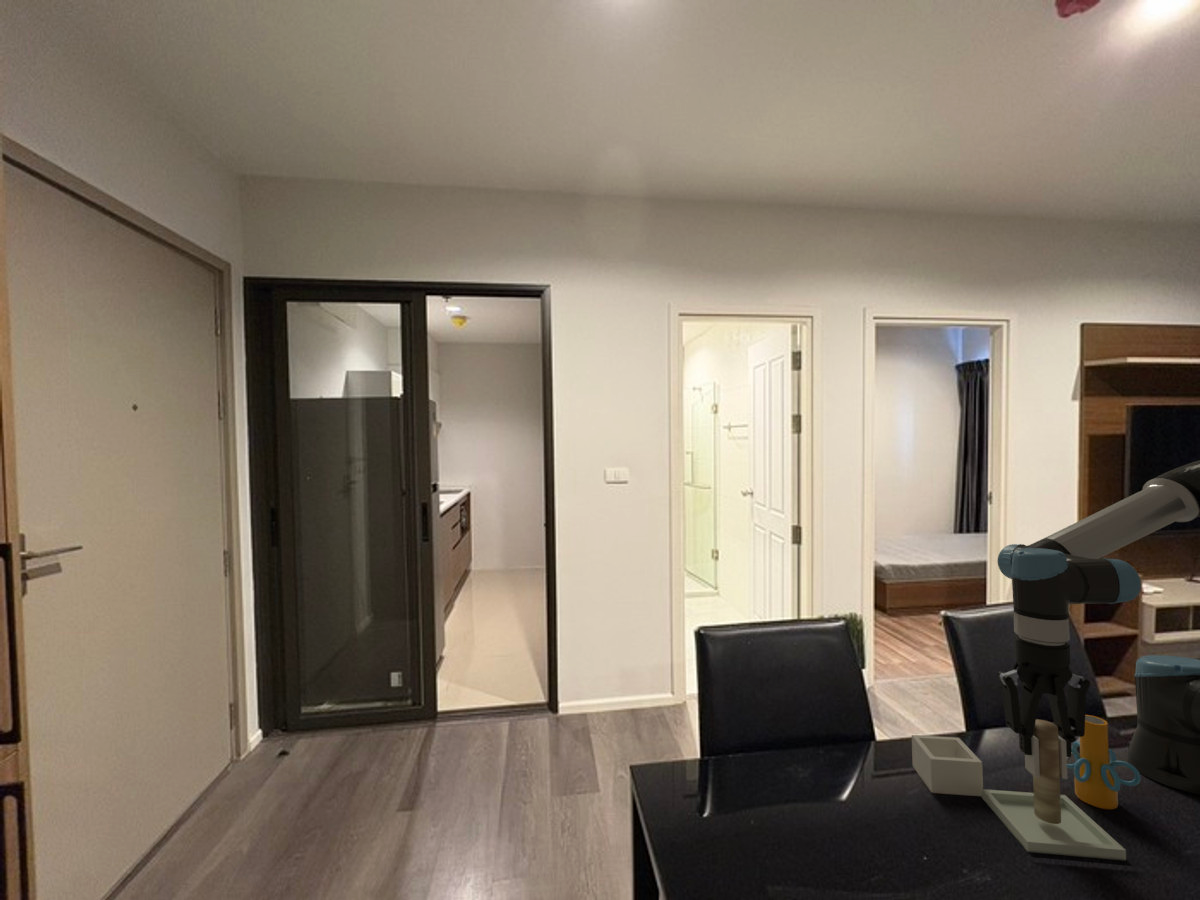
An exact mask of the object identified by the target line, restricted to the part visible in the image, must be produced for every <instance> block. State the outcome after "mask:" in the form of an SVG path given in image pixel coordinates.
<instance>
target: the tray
mask: <svg viewBox="0 0 1200 900" xmlns="http://www.w3.org/2000/svg"><path fill="white" fill-rule="evenodd" d="M1060 798H1061V823H1059V824H1052V823H1048V822H1045V821H1043V820H1041V819H1039V818H1038V817H1037V816H1036V815H1035V813H1034V792H1025V791H1012V790H1001V789H999V790H997V789H985V788H983V789H982V796H981V799H982V800H983V801H984V802H985V803H986V805H987V806H988V807H989V808H990V809H991V811H993V813H994V814H995V815H996V816H997V818H998V819H999V820H1000V821H1001V822H1002V823H1003V825H1004V826H1005V827H1006V829H1007V830H1008V831H1009V832H1010V833H1011V834H1012V835H1013V836H1014V837H1015V839H1016V840H1017V841H1018V842H1019V844H1020V845H1021V846H1022V847H1023V848H1024V849H1025V850H1026V852H1027V853H1037V854H1046V855H1057V856H1059V855H1060V856H1068V857H1069V856H1070V857H1081V858H1091V859H1092V858H1093V859H1103V860H1114V861H1126V862H1127V850H1126V849H1125V848H1124V847H1123V846H1122V845H1121V844H1120V843H1118V842H1117V841H1116V840H1115V839H1114V838H1113V837H1112V836H1111V835H1110V834H1109V833H1108V832H1106V831H1105V830H1104V828H1102V827H1101V826H1100V825H1099V824H1097V822H1095V821H1094V820H1093V819H1092V818H1091V817H1090V816H1089V815H1088V814H1087V813H1086V812H1084V811H1083V810H1082V809H1081V808H1080V807H1079V806H1078V805H1076V804H1075V802H1073V801H1072V800H1071V799H1070V798H1069V797H1068V796H1067V795H1066V794H1060Z"/></svg>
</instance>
